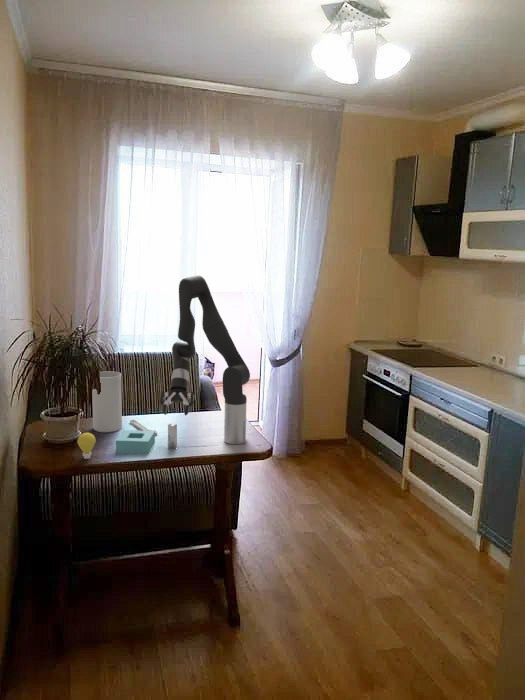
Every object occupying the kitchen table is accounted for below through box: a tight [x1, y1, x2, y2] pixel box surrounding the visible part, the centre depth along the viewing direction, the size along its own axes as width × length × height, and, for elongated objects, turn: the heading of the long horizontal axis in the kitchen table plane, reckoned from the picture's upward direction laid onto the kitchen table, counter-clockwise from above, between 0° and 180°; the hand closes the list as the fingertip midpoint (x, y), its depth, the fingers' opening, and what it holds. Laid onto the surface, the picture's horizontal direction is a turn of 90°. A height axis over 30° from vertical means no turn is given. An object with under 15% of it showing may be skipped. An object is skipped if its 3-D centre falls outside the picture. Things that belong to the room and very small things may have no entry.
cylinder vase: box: [91, 370, 123, 433], centre depth 251 cm, size 12×12×25 cm
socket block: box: [115, 429, 156, 454], centre depth 230 cm, size 13×13×5 cm
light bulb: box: [77, 432, 97, 460], centre depth 217 cm, size 7×7×10 cm
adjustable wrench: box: [129, 419, 158, 437], centre depth 254 cm, size 25×6×2 cm, turn 29°
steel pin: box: [167, 423, 178, 451], centre depth 230 cm, size 4×4×10 cm
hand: (175, 414), depth 236 cm, fingers open, 8 cm apart
